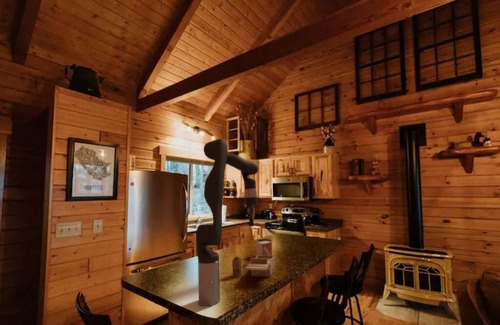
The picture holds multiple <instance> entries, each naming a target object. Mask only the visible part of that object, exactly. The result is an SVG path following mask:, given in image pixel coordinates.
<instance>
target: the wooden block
mask: <svg viewBox="0 0 500 325" xmlns="http://www.w3.org/2000/svg"><path fill="white" fill-rule="evenodd" d="M231 264H232V277H233V278H240V277H241V276H242V258H240V256H234V257H233V259H232V263H231Z"/></svg>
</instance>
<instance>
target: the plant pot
mask: <svg viewBox="0 0 500 325" xmlns="http://www.w3.org/2000/svg"><path fill="white" fill-rule="evenodd" d="M262 241H269V242H272V241H273V240H272V239H270V238H258V239H256V240H255V242H256V244H257V242H262Z"/></svg>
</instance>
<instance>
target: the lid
mask: <svg viewBox="0 0 500 325" xmlns="http://www.w3.org/2000/svg"><path fill="white" fill-rule="evenodd" d="M271 261H272V259H267V258H255V257H250V261H249V262H248V264H247V265H246V266H245V271H251V270H267V268H268V267H269V265H270V263H271Z"/></svg>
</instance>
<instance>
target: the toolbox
mask: <svg viewBox="0 0 500 325" xmlns="http://www.w3.org/2000/svg"><path fill="white" fill-rule="evenodd" d="M254 258H267V259H272V261H271V263H270V265H269V267H268V268H267V270H250V277H259V278H261V277H262V278H271V277H272V276H273V275H272V274H274V271H275V268H276V265H275V264H276V262H275V261H276V260H275V259H276V258H275V255H272V256H258V255H257V254H256V256H255V257H254Z"/></svg>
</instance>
